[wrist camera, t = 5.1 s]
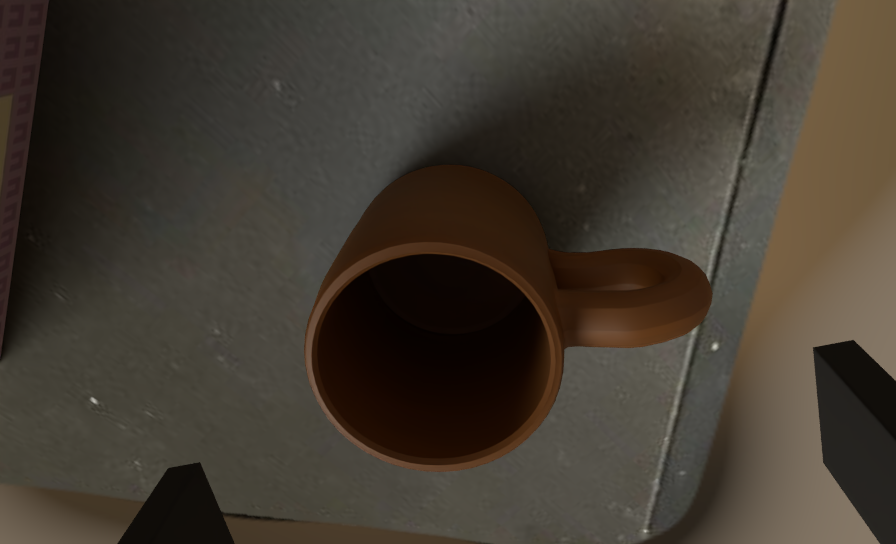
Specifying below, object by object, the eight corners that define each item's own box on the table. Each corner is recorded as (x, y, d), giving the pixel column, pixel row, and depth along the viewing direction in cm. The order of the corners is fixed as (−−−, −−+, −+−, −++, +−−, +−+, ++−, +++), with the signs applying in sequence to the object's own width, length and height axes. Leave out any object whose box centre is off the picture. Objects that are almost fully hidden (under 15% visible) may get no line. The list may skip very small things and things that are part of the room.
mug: (651, 119, 27) (724, 181, 18) (670, 307, 30) (743, 441, 21) (335, 177, 29) (265, 260, 20) (380, 352, 31) (334, 493, 23)
